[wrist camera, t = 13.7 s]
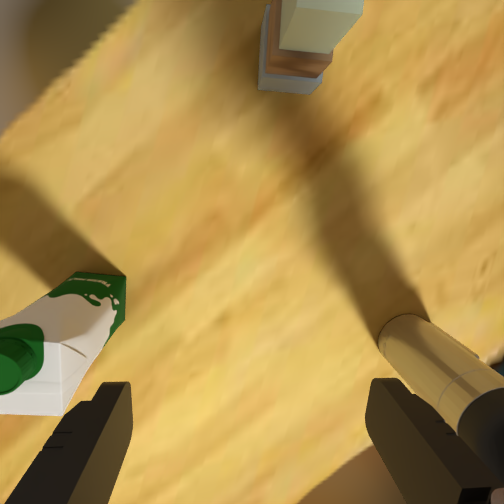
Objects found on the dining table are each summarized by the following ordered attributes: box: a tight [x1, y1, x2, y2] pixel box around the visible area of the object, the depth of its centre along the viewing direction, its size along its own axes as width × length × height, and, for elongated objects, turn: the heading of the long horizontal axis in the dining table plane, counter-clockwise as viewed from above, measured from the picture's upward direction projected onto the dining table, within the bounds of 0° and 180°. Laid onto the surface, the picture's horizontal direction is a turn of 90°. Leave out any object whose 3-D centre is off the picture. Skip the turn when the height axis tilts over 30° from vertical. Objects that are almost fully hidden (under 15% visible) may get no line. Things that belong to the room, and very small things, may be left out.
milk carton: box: [0, 272, 126, 416], centre depth 32 cm, size 9×9×20 cm
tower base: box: [258, 4, 323, 95], centre depth 34 cm, size 7×7×5 cm
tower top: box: [265, 0, 333, 79], centre depth 29 cm, size 6×6×5 cm
